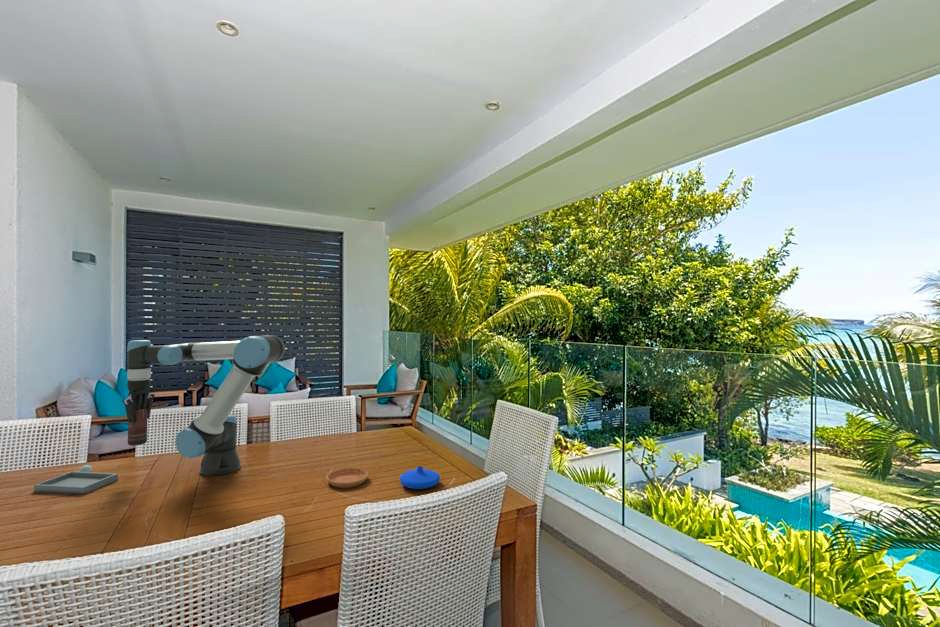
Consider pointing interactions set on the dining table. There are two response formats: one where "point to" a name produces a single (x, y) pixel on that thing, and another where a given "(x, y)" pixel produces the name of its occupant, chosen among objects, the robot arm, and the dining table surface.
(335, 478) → the saucer
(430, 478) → the blue lid
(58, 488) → the tray
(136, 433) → the can
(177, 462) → the dining table surface
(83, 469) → the ball
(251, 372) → the robot arm
